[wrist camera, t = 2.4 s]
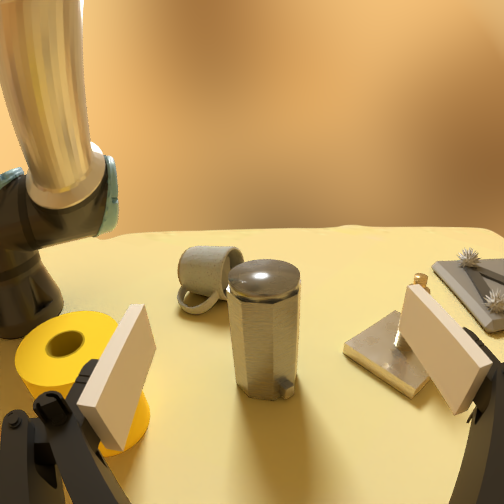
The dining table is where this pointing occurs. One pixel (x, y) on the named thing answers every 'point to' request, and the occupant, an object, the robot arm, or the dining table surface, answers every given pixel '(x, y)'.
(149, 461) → the dining table surface
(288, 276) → the trash can
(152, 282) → the dining table surface
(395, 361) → the square metal stand
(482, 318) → the decorative plate
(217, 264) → the ceramic mug
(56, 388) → the tape roll
